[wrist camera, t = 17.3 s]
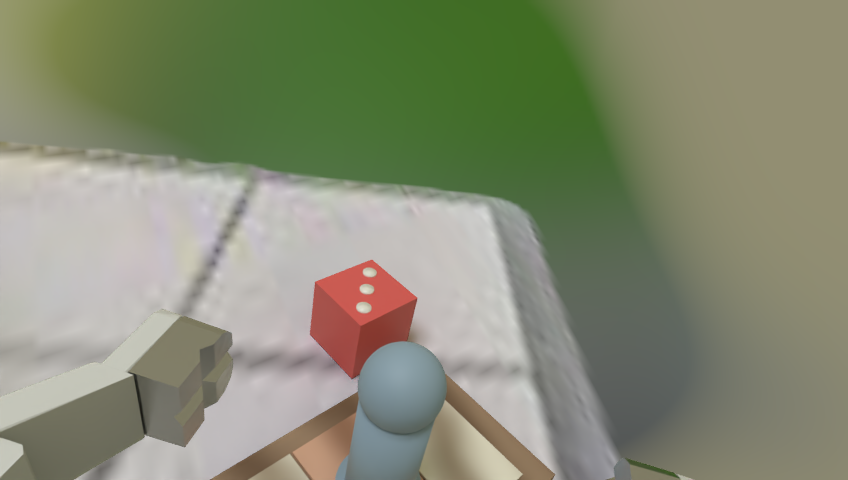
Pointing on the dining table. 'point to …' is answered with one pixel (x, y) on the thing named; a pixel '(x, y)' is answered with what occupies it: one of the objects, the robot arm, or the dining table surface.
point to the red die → (360, 314)
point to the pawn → (394, 413)
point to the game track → (442, 462)
